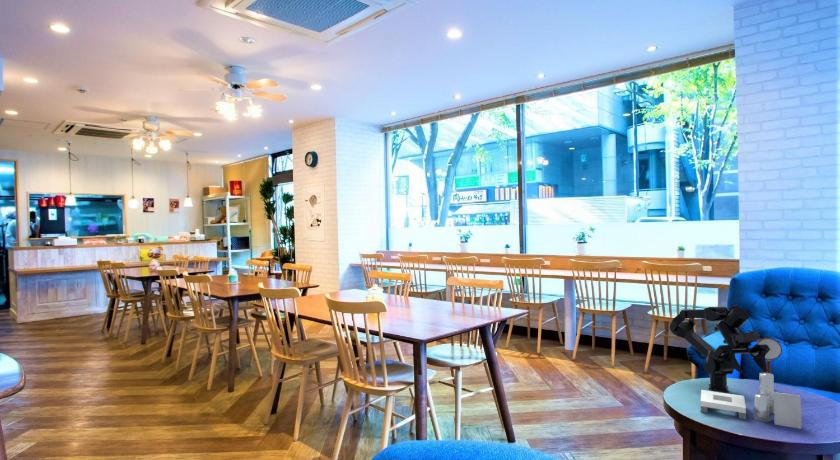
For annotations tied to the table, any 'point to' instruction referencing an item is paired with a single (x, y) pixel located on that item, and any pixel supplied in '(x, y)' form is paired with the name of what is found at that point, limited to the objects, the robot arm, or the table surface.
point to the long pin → (767, 388)
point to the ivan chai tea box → (787, 410)
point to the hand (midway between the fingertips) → (754, 372)
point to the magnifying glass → (771, 351)
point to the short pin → (761, 407)
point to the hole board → (723, 402)
